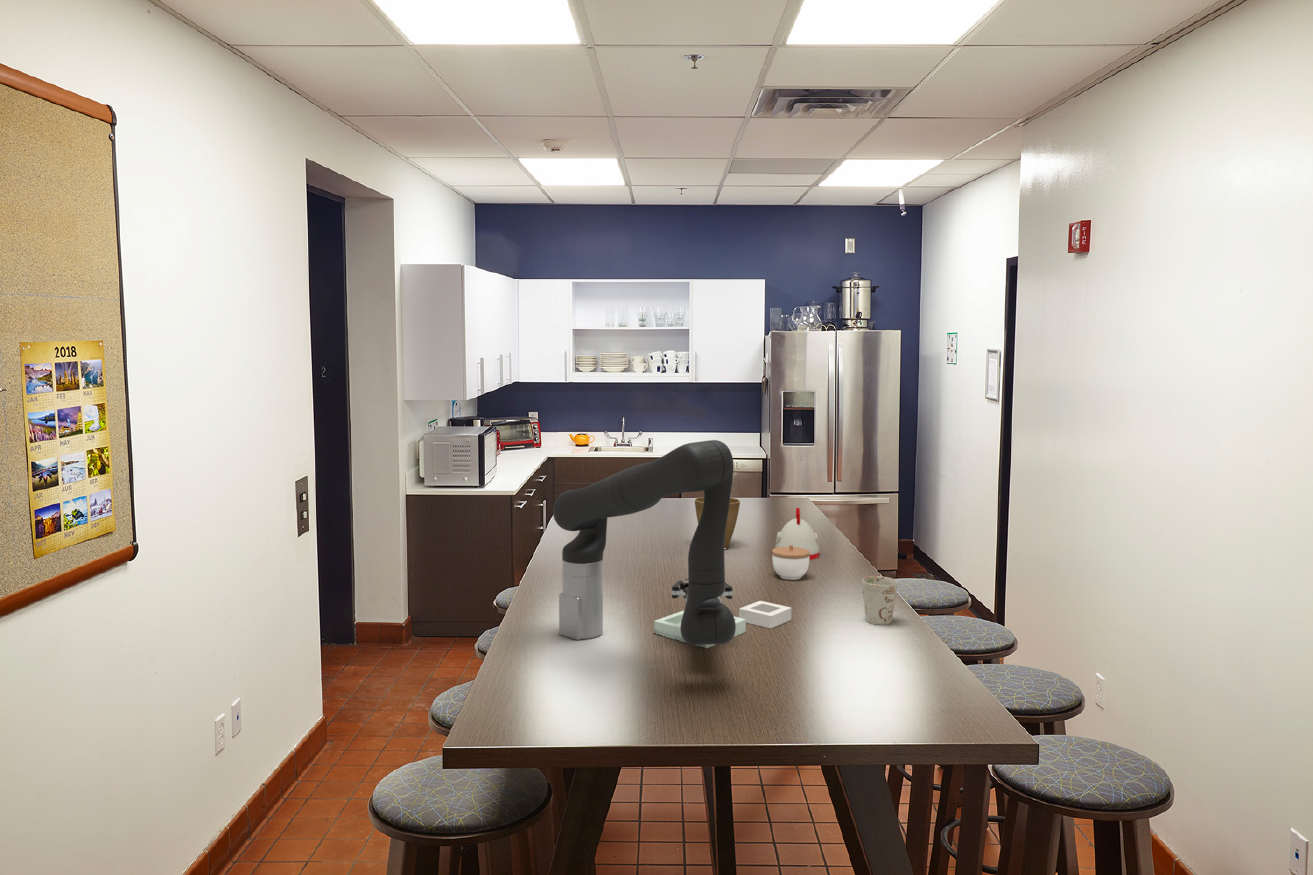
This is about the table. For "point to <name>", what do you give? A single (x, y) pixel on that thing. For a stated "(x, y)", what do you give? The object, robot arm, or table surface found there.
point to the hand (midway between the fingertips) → (700, 581)
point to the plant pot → (731, 518)
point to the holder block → (765, 614)
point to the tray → (673, 623)
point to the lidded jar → (790, 562)
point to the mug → (879, 599)
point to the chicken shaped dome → (799, 536)
